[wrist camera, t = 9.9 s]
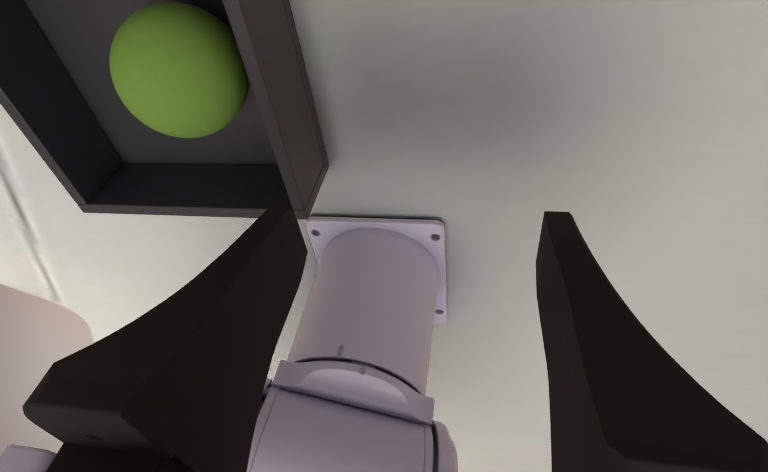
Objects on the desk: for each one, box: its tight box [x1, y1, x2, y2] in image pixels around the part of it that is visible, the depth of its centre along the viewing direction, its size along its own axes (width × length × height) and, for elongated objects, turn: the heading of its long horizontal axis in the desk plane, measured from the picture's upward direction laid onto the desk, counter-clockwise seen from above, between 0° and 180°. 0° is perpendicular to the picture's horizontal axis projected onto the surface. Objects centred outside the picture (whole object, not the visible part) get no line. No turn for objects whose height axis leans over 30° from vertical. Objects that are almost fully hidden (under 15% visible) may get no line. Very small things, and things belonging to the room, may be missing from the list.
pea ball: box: [109, 2, 249, 138], centre depth 18 cm, size 5×5×5 cm
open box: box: [0, 0, 329, 219], centre depth 19 cm, size 15×12×4 cm
